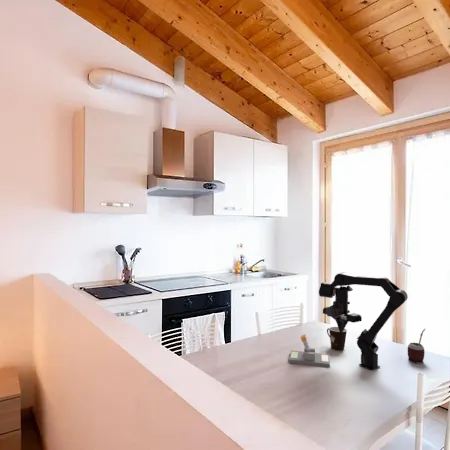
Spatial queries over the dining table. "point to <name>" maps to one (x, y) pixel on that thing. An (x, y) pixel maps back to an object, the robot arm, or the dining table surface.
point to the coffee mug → (337, 338)
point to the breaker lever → (305, 343)
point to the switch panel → (310, 362)
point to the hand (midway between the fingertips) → (341, 332)
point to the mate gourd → (416, 351)
